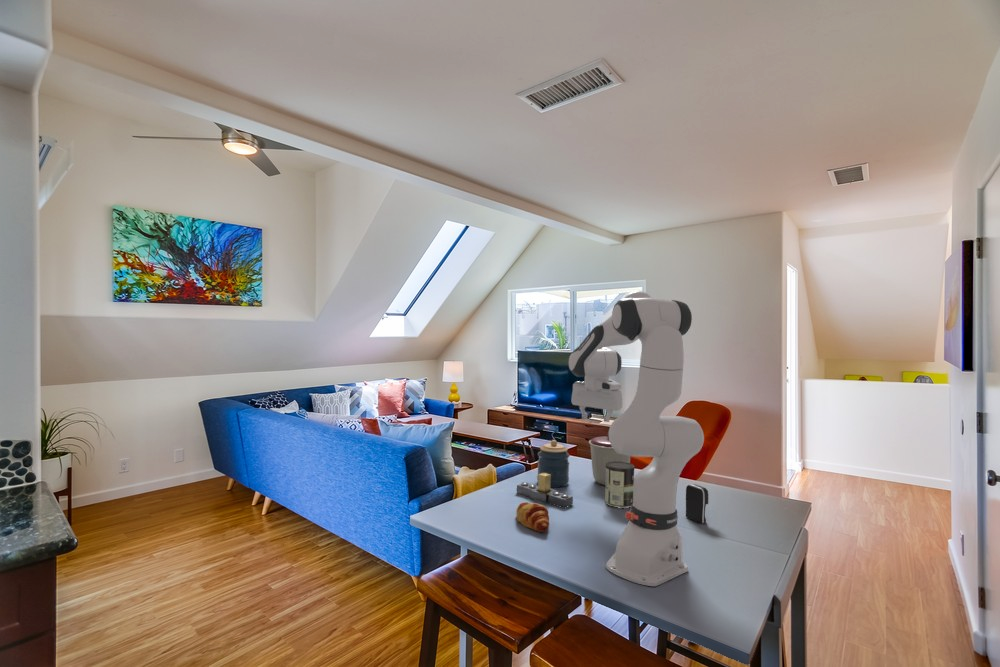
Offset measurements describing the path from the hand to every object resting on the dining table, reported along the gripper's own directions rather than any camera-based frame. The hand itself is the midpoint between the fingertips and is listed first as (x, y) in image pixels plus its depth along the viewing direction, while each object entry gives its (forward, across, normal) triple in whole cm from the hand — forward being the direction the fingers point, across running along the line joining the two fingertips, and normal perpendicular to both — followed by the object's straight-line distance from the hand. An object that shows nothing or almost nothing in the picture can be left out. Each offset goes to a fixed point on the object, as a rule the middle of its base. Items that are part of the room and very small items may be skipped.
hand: (595, 419), depth 179 cm
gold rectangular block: (+29, -12, -15) cm, 35 cm away
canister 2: (+29, -5, +21) cm, 36 cm away
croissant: (+30, -1, -35) cm, 46 cm away
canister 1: (+29, -21, +3) cm, 36 cm away
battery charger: (+29, +36, +6) cm, 47 cm away
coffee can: (+29, +10, +1) cm, 31 cm away
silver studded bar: (+29, -12, -15) cm, 35 cm away
